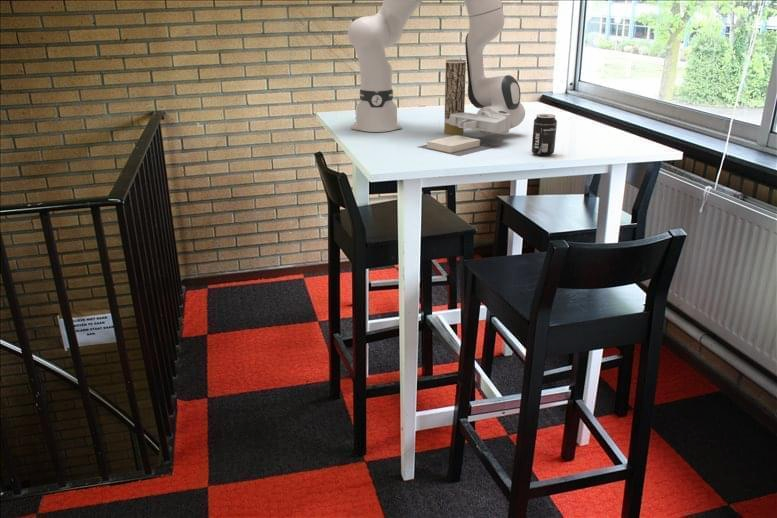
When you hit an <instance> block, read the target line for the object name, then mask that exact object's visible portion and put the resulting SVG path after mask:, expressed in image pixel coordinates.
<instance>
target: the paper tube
mask: <svg viewBox="0 0 777 518" xmlns="http://www.w3.org/2000/svg"><path fill="white" fill-rule="evenodd" d="M466 69H467V61H466V59H456V58H455V59H445V79H444V80H445V81H444V127H443V128H444V129H443V130H444V134H445V135H449V136H455V135H458V136H461V135H463V134H464V129H465V128H459V127H458V126H453V125H450V123H449V118H450V114H454V113H465V103H466V102H465V101H466V100H465V99H466V96H465V95H466V73H467V72H466V71H467V70H466Z"/></svg>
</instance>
